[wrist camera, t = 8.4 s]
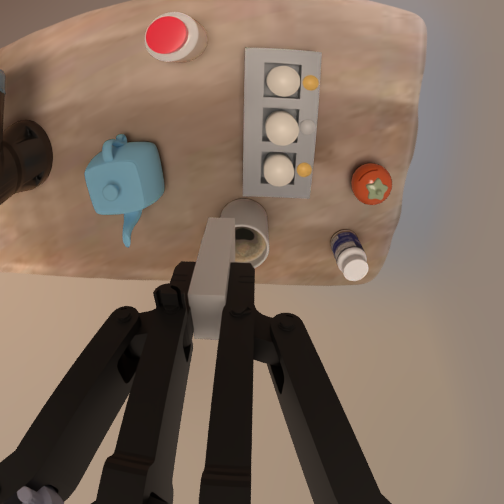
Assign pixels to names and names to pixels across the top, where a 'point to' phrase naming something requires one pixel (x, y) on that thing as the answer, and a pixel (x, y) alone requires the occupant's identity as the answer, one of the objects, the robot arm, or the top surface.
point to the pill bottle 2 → (349, 255)
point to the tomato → (371, 183)
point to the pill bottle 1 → (175, 38)
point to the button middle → (281, 128)
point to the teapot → (125, 180)
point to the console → (266, 102)
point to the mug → (249, 231)
